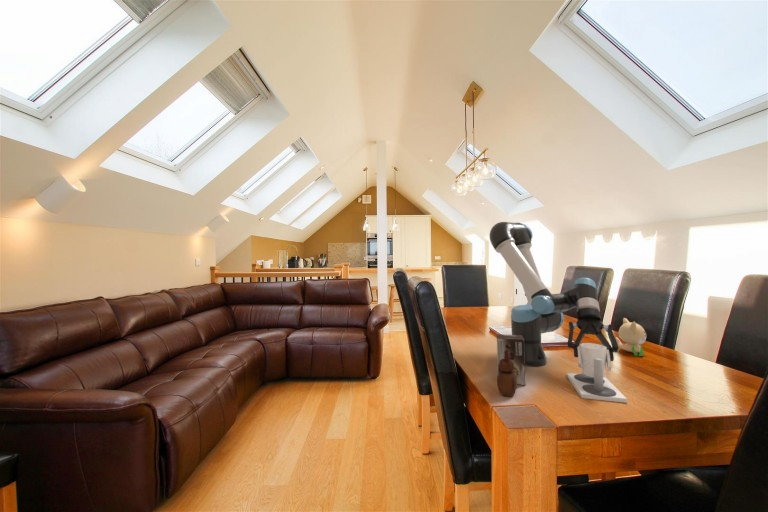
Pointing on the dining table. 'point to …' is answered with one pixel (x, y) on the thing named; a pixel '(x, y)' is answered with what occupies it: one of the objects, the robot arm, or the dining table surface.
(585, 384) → the board
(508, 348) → the coffee box
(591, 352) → the white cup
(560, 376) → the dining table surface
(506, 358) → the wooden figurine
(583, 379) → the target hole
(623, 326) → the kitten
